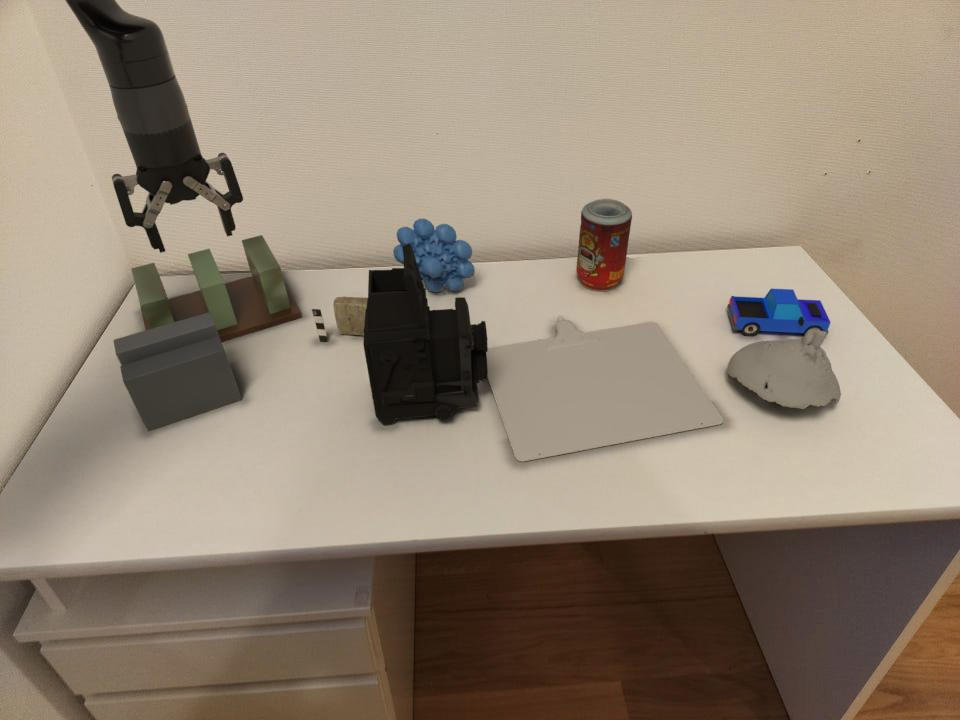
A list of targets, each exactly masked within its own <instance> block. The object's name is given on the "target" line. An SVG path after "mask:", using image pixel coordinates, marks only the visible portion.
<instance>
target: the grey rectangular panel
mask: <svg viewBox="0 0 960 720" xmlns="http://www.w3.org/2000/svg"><path fill="white" fill-rule="evenodd" d="M554 329H555V331H556V336H553V337H548V338H540V339H535V340H529V341H528V340H527V341H523V342H517V343H516V342H515V343H511V344H504V345H498V346H497V345H496V346H491V347H488V350H487V352H486V355H487V369H488V375H487V381H488V383H489V386H490V389H491V391H492V394H493V397H494V400H495V403H496V406H497V409H498V411H499V414H500V417H501V420H502V423H503V426H504V429H505V433H506V436H507V437H508V440H509V444H510V446H511V449H512V452H513V455H514V459H516V460H517V461H518V462H528V461H534V460H539V459H545V458H550V457H554V456H555V457H556V456H559V455H566V454H570V453H577V452H581V451H582V452H583V451H586V450H593V449H597V448H602V447H609V446H614V445H618V444H623V443H629V442H634V441H639V440H644V439H651V438H656V437H661V436H665V435H671V434H672V435H673V434H677V433H682V432H688V431H693V430H698V429H704V428H708V427H715V426H719V425H722V424H723V423H724V418H723V416H722V415H721V413H720V412H719V411H718V409H717V408H716V407H715V405H714V404H713V402H712V400H711V399H710V397H709V396H708V395H707V393H706V392H705V390H704V389H703V387H702V386H701V384H700V383H699V382H698V380H697V379H696V377H695V376H694V374H693V373H692V371H691V370H690V368H689V367H688V366H687V364H686V363H685V361H684V360H683V358H682V357H681V356H680V354H679V353H678V351H677V350H676V348H675V347H674V345H673V344H672V342H671V341H670V340H669V338H668V337H667V335H666V334H665V333H664V330H663V329H662V328H661V326H660V325H659V324H658V322H655V321H647V322H641V323H635V324H629V325H623V326H622V325H621V326H616V327H610V328H604V329H603V328H602V329H598V330H597V329H596V330H590V331H585V332H584V331H581V330H580V329H578V328H577V327H576V326H575V325H574V323H573V322H572V321H571V320H569V319H564V317H563V315H559V316H557V319H556V323H555V324H554Z"/></svg>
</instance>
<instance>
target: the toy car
mask: <svg viewBox="0 0 960 720" xmlns="http://www.w3.org/2000/svg"><path fill="white" fill-rule="evenodd" d="M726 309H727V312H728V316H729V319H730V323H731V327H732V330H733V331H741V332H742V334H743V335H744V336H745V337H754V336H756V335H758V334H759V332H774V333H775V332H776V333H791V334H793V333H794V334H804V335H805V334H806V332H807V331H808V330H810V329H817V330H821V331H825V332H827V334H826V336H828V334H829V331H830V330H829V328H830V325H831V320H830V318H829V315H828V313H827V311H826V310H825V307H824V305H823V303H822V300H820V299H798V297H797V295H796V292H795V290H794V289H790V288H770V289H769V291H767V293H766V295H765V296H764V297H756V296H755V297H754V296H734V295H731V296H730V298H729V301H728V304H727V306H726Z"/></svg>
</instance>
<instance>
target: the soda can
mask: <svg viewBox="0 0 960 720" xmlns="http://www.w3.org/2000/svg"><path fill="white" fill-rule="evenodd" d="M632 220H633V213H632V210H631V208H630V207H629V206H628V205H626V204H624V203H623V202H621V201H619V200H616V199H612V198H600V199H595V200H592V201H591V202H588V203H586V204H585V205H584V206H582V209H581V211H580V226H579V234H578V235H579V236H578V246H577V247H578V248H577V259H576V274H577V276H578V278H579V281H580V284H581V285H582V286H583V287H584V288H585V289H587V290H590V291H593V292H598V293H599V292H608V291H612V290H613V289H615V288H616V287H617V286H618V284H619V282H620V281H621V280H622V279H623V277H624V274H625V269H626V262H627V256H628V248H629V242H630V241H629V240H630V233H631V226H632Z"/></svg>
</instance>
